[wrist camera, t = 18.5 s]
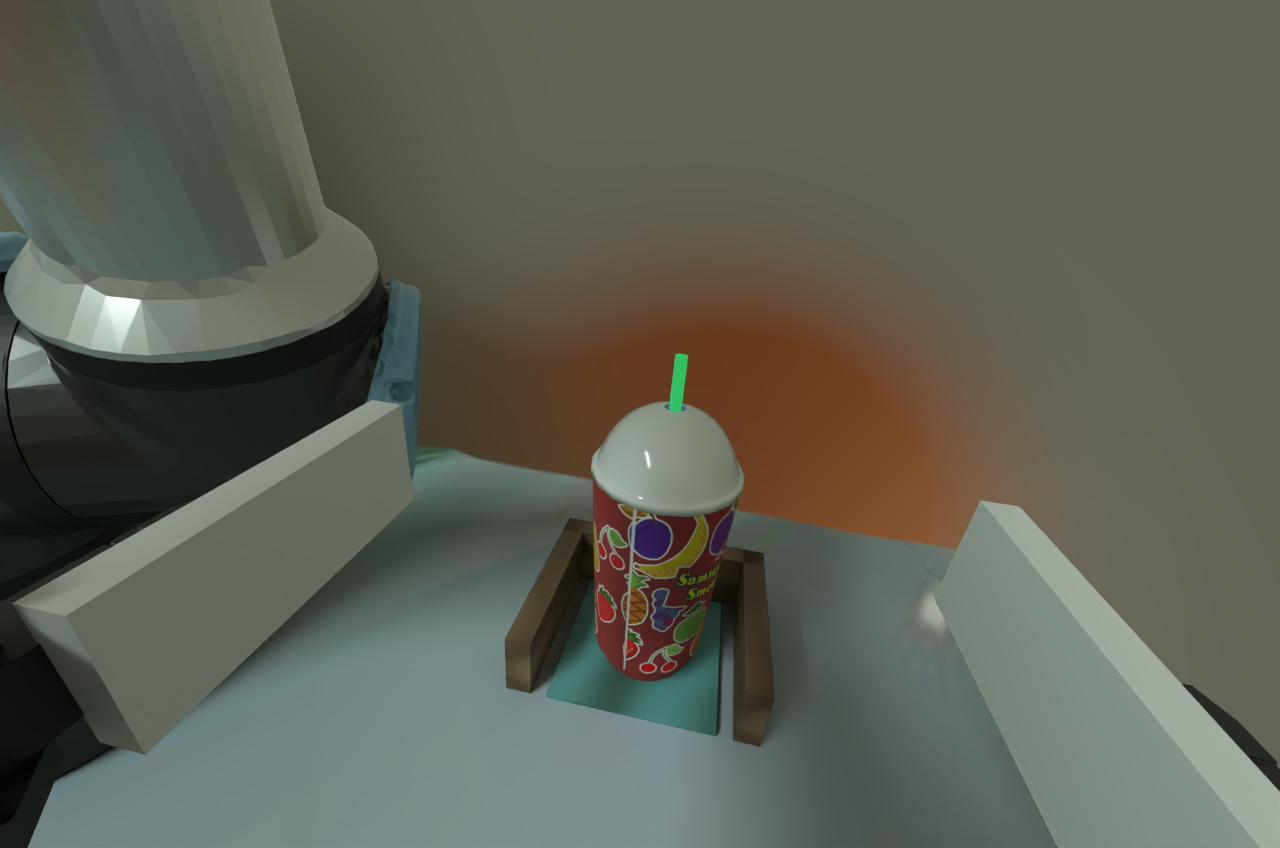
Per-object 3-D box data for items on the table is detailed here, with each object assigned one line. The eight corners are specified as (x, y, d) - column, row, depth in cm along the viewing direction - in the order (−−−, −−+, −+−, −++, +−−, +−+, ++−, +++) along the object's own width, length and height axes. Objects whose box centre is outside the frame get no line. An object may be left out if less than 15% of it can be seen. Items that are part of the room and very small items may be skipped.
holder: (506, 687, 29) (504, 639, 28) (568, 557, 40) (569, 517, 39) (759, 746, 28) (774, 698, 26) (753, 593, 38) (763, 553, 37)
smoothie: (696, 722, 28) (762, 399, 20) (561, 678, 30) (570, 365, 22) (715, 615, 36) (770, 348, 27) (606, 585, 37) (626, 325, 29)
